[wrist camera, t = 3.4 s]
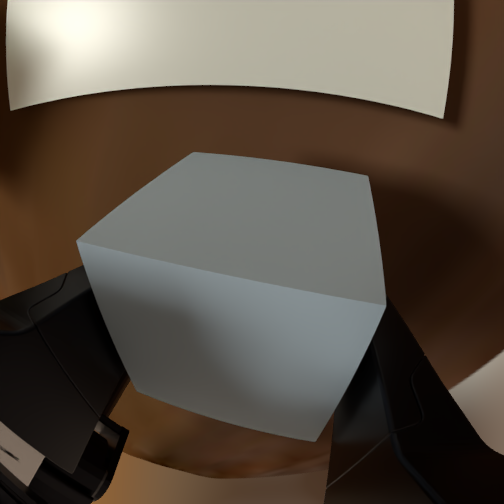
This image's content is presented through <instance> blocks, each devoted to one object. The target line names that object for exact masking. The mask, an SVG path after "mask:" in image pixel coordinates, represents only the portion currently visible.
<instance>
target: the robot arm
mask: <svg viewBox="0 0 504 504" xmlns="http://www.w3.org/2000/svg"><path fill="white" fill-rule="evenodd" d="M385 295H386V293H385ZM130 380H131V379H130V377H129V375H128V373H127V371H126V369H125V367H124V364H123V362H122V360H121V358H120V356H119V354H118V352H117V349H116V347H115V345H114V343H113V340H112V338H111V336H110V333H109V331H108V329H107V326H106V324H105V321H104V319H103V316H102V314H101V311H100V309H99V306H98V304H97V301H96V298H95V296H94V293H93V290H92V288H91V285H90V282H89V279H88V276H87V273H86V270H85V267H84V265H83V266H80V267H78V268H76V269H74V270H71V271H69V272H68V274H67V273H65V274H62V275H60V276H58V277H56V278H53V279H51V280H49V281H47V282H44V283H42V284H40V285H37V286H35V287H32V288H30V289H27V290H25V291H22V292H20V293H17V294H15V295H12V296H10V297H7V298H5V299H2V300H0V504H91V503H92V502H93V501H96V500H98V499H99V498H101V497H102V496H103V494H104V493H105V492H106V490H107V489H108V487H109V485H110V483H111V481H112V479H113V476H114V473H115V470H116V467H117V464H118V462H119V459H120V456H121V453H122V451H123V448H124V445H125V442H126V440H127V437H128V434H129V430H127V429H126V428H124V427H123V426H122V427H121V426H119V425H118V424H116V423H115V422H114V421H112V420H111V419H109V418H108V417H109V415H110V414H111V412H112V410H113V408H114V407H115V405H116V403H117V402H118V400H119V398H120V397H121V395H122V393H123V392H124V390H125V388H126V387H127V385H128V383H129V382H130ZM94 430H96V431H97V432H99V433H100V434H98V433H97V432H95V431H94ZM326 488H327V489H326V491H325V498H324V504H504V455H502V454H499V453H498V452H496V451H494V450H493V449H491V448H490V447H489V446H487V445H486V444H485V443H484V441H483V440H482V439H481V438H480V437H479V435H478V434H477V432H476V431H475V429H474V428H473V426H472V425H471V423H470V422H469V421H468V419H467V418H466V416H465V415H464V413H463V412H462V410H461V409H460V407H459V406H458V405H457V403H456V402H455V401H454V399H453V397H452V396H451V394H450V393H449V391H448V390H447V389H446V387H445V386H444V384H443V383H442V381H441V380H440V378H439V376H438V375H437V373H436V371H435V370H434V368H433V367H432V365H431V363H430V362H429V360H428V358H427V357H426V356H424V352H423V350H422V349H421V347H420V346H419V344H418V342H417V341H416V339H415V338H414V336H413V334H412V333H411V331H410V330H409V328H408V326H407V325H406V323H405V322H404V320H403V319H402V317H401V316H400V314H399V313H398V311H397V310H396V308H395V307H394V305H393V304H392V302H391V301H390V299H389V298H388V296H387V295H386V308H385V310H384V313H383V315H382V317H381V320H380V322H379V324H378V326H377V329H376V331H375V333H374V335H373V337H372V339H371V342H370V344H369V346H368V348H367V350H366V352H365V354H364V356H363V358H362V360H361V362H360V364H359V366H358V368H357V370H356V372H355V374H354V376H353V378H352V380H351V382H350V383H349V385H348V387H347V389H346V391H345V393H344V394H343V396H342V398H341V400H340V402H339V403H338V405H337V407H336V409H335V412H334V424H333V435H332V445H331V454H330V462H329V470H328V478H327V485H326Z"/></svg>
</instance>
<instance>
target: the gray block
mask: <svg viewBox="0 0 504 504" xmlns="http://www.w3.org/2000/svg"><path fill="white" fill-rule="evenodd" d="M76 242H77V245H78V248H79V252H80V255H81V258H82V261H83V264H84V267H85V270H86V273H87V276H88V279H89V282H90V285H91V288H92V290H93V293H94V296H95V298H96V301H97V304H98V306H99V309H100V311H101V314H102V316H103V319H104V321H105V324H106V326H107V329H108V331H109V333H110V336H111V338H112V340H113V343H114V345H115V347H116V349H117V352H118V354H119V356H120V358H121V360H122V362H123V364H124V367H125V369H126V371H127V373H128V375H129V377H130V379H131V381H132V383H133V385H134V387H135V389H136V391H137V392H140V393H142V394H145V395H147V396H150V397H152V398H155V399H158V400H160V401H163V402H166V403H168V404H171V405H174V406H177V407H180V408H182V409H185V410H188V411H191V412H194V413H197V414H201V415H204V416H207V417H210V418H213V419H217V420H220V421H224V422H227V423H231V424H234V425H238V426H242V427H246V428H250V429H254V430H258V431H262V432H267V433H271V434H276V435H280V436H285V437H290V438H295V439H301V440H306V441H312V442H316V440H317V439H318V437H319V435H320V434H321V432H322V430H323V429H324V427H325V426H326V424H327V422H328V421H329V419H330V417H331V416H332V414H333V412H334V410H335V409H336V407H337V405H338V403H339V402H340V400H341V398H342V396H343V394H344V393H345V391H346V389H347V387H348V385H349V383H350V382H351V380H352V378H353V376H354V374H355V372H356V370H357V368H358V366H359V364H360V362H361V360H362V358H363V356H364V354H365V352H366V350H367V348H368V346H369V344H370V342H371V339H372V337H373V335H374V333H375V331H376V329H377V326H378V324H379V322H380V320H381V317H382V315H383V313H384V310H385V308H386V295H385V284H384V274H383V266H382V257H381V250H380V242H379V235H378V229H377V222H376V216H375V210H374V204H373V199H372V193H371V188H370V183H369V178H368V176H366V175H361V174H356V173H350V172H345V171H340V170H334V169H328V168H322V167H316V166H310V165H303V164H296V163H290V162H282V161H275V160H267V159H259V158H250V157H241V156H232V155H221V154H210V153H198V152H193V153H191V154H190V155H188V156H187V157H185V158H184V159H182V160H181V161H180V162H178V163H177V164H175V165H174V166H172V167H171V168H169V169H168V170H167V171H165V172H164V173H162V174H161V175H159V176H158V177H157V178H155V179H154V180H152V181H151V182H150V183H148V184H147V185H146V186H144V187H143V188H142V189H140V190H139V191H138V192H136V193H135V194H134V195H132V196H131V197H130V198H128V199H127V200H126V201H124V202H123V203H122V204H121V205H119V206H118V207H117V208H115V209H114V210H113V211H112V212H110V213H109V214H108V215H107V216H105V217H104V218H103V219H102V220H100V221H99V222H98V223H97V224H96V225H94V226H93V227H92V228H91V229H90V230H88V231H87V232H86V233H85V234H84V235H82V236H81V237H80V238H79V239H78V240H77V241H76Z"/></svg>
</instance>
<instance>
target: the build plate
mask: <svg viewBox="0 0 504 504" xmlns="http://www.w3.org/2000/svg"><path fill="white" fill-rule="evenodd" d="M453 24H454V0H8V4H7V21H6V64H7V81H8V93H9V103H10V111H12V110H16V109H19V108H23V107H27V106H31V105H35V104H40V103H44V102H49V101H53V100H58V99H63V98H69V97H74V96H80V95H86V94H92V93H99V92H107V91H115V90H123V89H133V88H145V87H159V86H179V85H240V86H260V87H275V88H286V89H296V90H305V91H314V92H321V93H328V94H335V95H341V96H347V97H353V98H359V99H364V100H369V101H374V102H379V103H384V104H388V105H393V106H397V107H401V108H405V109H409V110H413V111H417V112H421V113H424V114H428V115H432V116H435V117H438V118H442V119H443V116H444V110H445V104H446V97H447V90H448V83H449V75H450V66H451V55H452V42H453Z"/></svg>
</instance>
